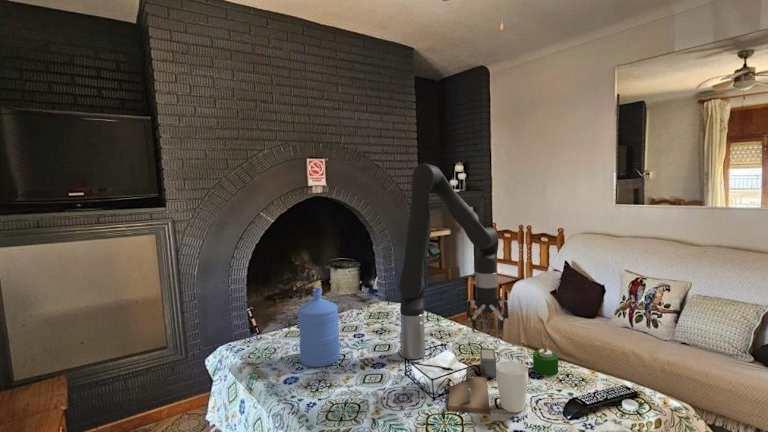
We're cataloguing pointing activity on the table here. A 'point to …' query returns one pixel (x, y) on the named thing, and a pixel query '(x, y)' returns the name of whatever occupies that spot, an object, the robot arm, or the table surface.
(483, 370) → the block
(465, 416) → the table surface
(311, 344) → the water jug
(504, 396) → the cup
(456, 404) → the tray
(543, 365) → the candle
